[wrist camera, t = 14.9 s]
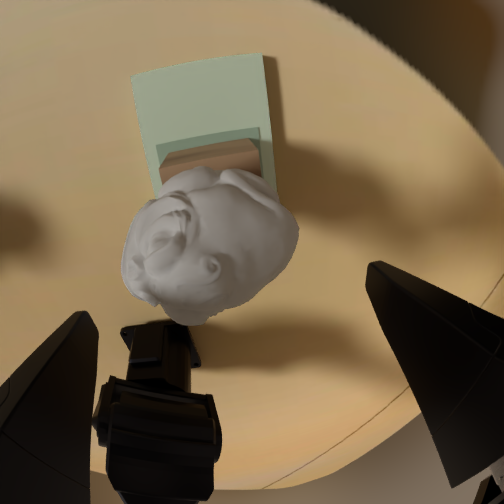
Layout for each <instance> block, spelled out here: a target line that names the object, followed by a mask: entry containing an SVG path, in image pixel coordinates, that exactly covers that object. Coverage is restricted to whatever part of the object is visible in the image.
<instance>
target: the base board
mask: <svg viewBox="0 0 504 504" xmlns="http://www.w3.org/2000/svg"><path fill="white" fill-rule="evenodd" d="M130 77H131V83H132V89H133V95H134V101H135V106H136V112H137V117H138V122H139V127H140V132H141V137H142V142H143V146H144V151H145V156H146V160H147V165H148V169H149V173H150V177H151V182H152V186H153V190H154V194H155V198H156V199H159V198H158V193H159V190H160V188H161V187H162V182H161V178H160V173H159V167H160V165H161V164H162V162H163V161H164V159H165V158H166V156H167V154H168V153H170V152H175V151H179V150H184V149H189V148H194V147H199V146H204V145H209V144H214V143H220V142H226V141H231V140H238V139H244V138H249V140H250V141H251V142H252V143H253V144H254V145H255V147H256V148H257V149H258V152H259V160H260V167H261V175H262V178H263V179H264V180H266V181H267V182H268V184H269V185H270V186H271V187H272V188H273V189H274V190H275V192H276V193H277V185H276V174H275V164H274V154H273V144H272V134H271V125H270V116H269V107H268V98H267V90H266V81H265V73H264V65H263V57H262V53H252V54H242V55H233V56H225V57H217V58H211V59H204V60H198V61H193V62H187V63H182V64H177V65H172V66H168V67H163V68H159V69H155V70H151V71H147V72H143V73H139V74H136V75H132V76H130Z"/></svg>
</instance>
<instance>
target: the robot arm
mask: <svg viewBox="0 0 504 504" xmlns="http://www.w3.org/2000/svg"><path fill="white" fill-rule="evenodd" d="M365 287H366V291H367V293H368V296H369V298H370V301H371V303H372V306H373V308H374V311H375V313H376V316H377V319H378V321H379V324H380V326H381V328H382V330H383V333H384V335H385V337H386V338H387V340H388V342H389V344H390V346H391V348H392V350H393V352H394V354H395V356H396V358H397V360H398V362H399V364H400V366H401V369H402V371H403V373H404V375H405V377H406V379H407V381H408V383H409V385H410V388H411V390H412V392H413V394H414V396H415V398H416V401H417V403H418V405H419V407H420V410H421V412H422V414H423V416H424V419H425V421H426V424H427V426H428V428H429V431H430V433H431V435H433V436H432V438H433V441H434V443H435V446H436V448H437V451H438V453H439V456H440V459H441V461H442V464H443V466H444V469H445V472H446V475H447V477H448V480H449V483H450V486H451V488H454V487H456V486H458V485H460V484H461V483H463V482H465V481H466V480H468V479H470V478H471V477H473V476H475V475H476V474H478V473H479V472H481V471H482V470H484V469H485V468H487V467H489V468H490V471H491V473H492V474H491V475H490V476H488V477H487V478H485V479H484V480H483V481H481V483H480V486H479V489H478V492H477V495H476V497H475V500H474V502H473V504H504V319H503V318H501V317H498V316H496V315H494V314H492V313H490V312H488V311H485V310H483V309H481V308H479V307H477V306H475V305H473V304H472V303H468V302H467V301H465V300H463V299H461V298H459V297H457V296H455V295H453V294H451V293H449V292H447V291H445V290H443V289H441V288H439V287H437V286H435V285H433V284H431V283H428V282H426V281H424V280H422V279H420V278H418V277H416V276H414V275H411V274H409V273H407V272H405V271H403V270H401V269H399V268H396V267H394V266H392V265H390V264H388V263H385V262H383V261H375V262H370V263H369V264H368V267H367V275H366V282H365ZM180 325H182V324H179V323H176V322H175V321H171V322H164V323H156V324H149V325H141V326H133V327H124V328H122V329H121V332H120V335H121V337H122V338H123V340H124V342H125V344H126V345H127V347H128V349H129V351H130V355H129V364H128V370H127V375H126V380H123V379H119V378H116V377H115V376H111V375H110V377H109V381H108V383H107V382H106V384H104V385H102V387H101V392H100V397H99V401H98V404H97V406H96V409H95V412H94V414H93V404H94V394H95V386H96V377H97V357H98V340H99V333H98V329H97V327H96V325H95V324H94V322H93V320H92V318H91V316H90V315H89V313H88V312H87V311H77V312H75V313H73V314H72V315H71V316H70V317H69V318H68V319H67V320H66V321H65V322H64V323H63V324H62V325H61V326H60V327H59V328H57V329H56V330H55V331H54V332H53V333H52V334H51V335H50V336H49V337H48V338H47V339H46V340H45V341H44V342H43V343H42V344H41V345H40V346H39V347H38V348H37V349H36V350H35V351H34V352H33V353H32V354H31V355H30V356H29V357H28V358H27V359H26V360H25V361H24V362H23V363H22V364H21V365H20V366H19V367H18V368H17V369H16V370H15V371H14V373H13V374H12V375H11V376H10V377H9V378H8V379H7V380H6V381H5V382H4V383H3V384H2V385H1V386H0V504H90V489H89V488H90V445H91V427H92V426H93V427H94V429H95V430H96V431H97V437H98V444H99V446H102V447H106V448H107V453H106V473H107V475H108V478H109V480H110V482H111V484H112V486H113V488H114V490H115V491H117V492H118V494H119V495H120V497H121V499H122V501H123V502H124V504H198V502H199V501H207V500H208V499H209V497H210V495H211V494H212V492H213V490H214V463H216V462H217V461H218V459H219V457H220V453H221V448H222V431H221V426H220V422H219V418H218V415H217V411H216V407H215V403H214V399H213V395H211V394H206V395H203V394H196V393H191V368H198V367H200V366H201V360H200V357H199V355H198V352H197V350H196V347H195V344H194V342H193V339H192V336H191V334H190V331H189V328H188V326H186V325H182V326H180ZM124 332H125V333H124ZM92 414H93V417H92Z"/></svg>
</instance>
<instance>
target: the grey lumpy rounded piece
mask: <svg viewBox="0 0 504 504" xmlns="http://www.w3.org/2000/svg"><path fill="white" fill-rule="evenodd" d="M158 198H159V199H152V200H149V201H148V202H147V203H146V204H145V205H144V206H143V207H142V208H141V209H140V210H139V211H138V213H137V214H136V215H135V217H134V219H133V221H132V223H131V225H130V228H129V231H128V234H127V238H126V242H125V245H124V249H123V255H122V261H121V274H122V278H123V281H124V283H125V285H126V287H127V289H128V290H129V291H130V293H131V294H132V295H133V296H134V297H136V298H138V299H140V300H143V301H146V302H148V303H149V304H151V305H152V306H154V307H155V306H157V305H158V304H161V306H162V307H163V309H164V311H165V313H166V314H167V315H168V316H169V317H170V318H171V319H172V320H173V321H175V322H176V323H179V324H182V325H186V326H198V325H203V324H204V323H205V322H206V320H207V319H208V318H209V316H210V317H211V316H213V315H217V313H218V312H222V311H223V310H224V309H229V308H234V307H237V306H240V305H242V304H244V303H245V302H247V301H249V300H250V299H252V298H253V297H254V296H255V295H256V294H257V293H258V292H259V291H260V290H261V289H262V288H263V287H265V285H267V284H268V283H270V282H271V281H272V280H274V279H275V278H276V277H277V276H278V275H279V274H280V273H281V272H282V271H283V270H284V269H285V267H286V266H287V264H288V263H289V261H290V259H291V258H292V255H293V253H294V251H295V248H296V245H297V241H298V237H299V226H298V224H297V222H296V220H295V218H294V217H293V215H292V214H291V213H290V212H289V211H288V210H287V209H286V208H285V207H284V206H283V205H282V204H280V200H279V196H278V194H277V193H276V192H275V190H274V189H273V188H272V187H271V186H270V185H269V184H268V182H267V181H266V180H264V179H263V178H261V177H259V176H257V175H255V174H253V173H251V172H248V171H244V170H241V169H226V170H213V169H212V168H210V167H206V166H198V167H195V168H193V169H189V170H185V171H182V172H180V173H179V174H177V175H175V176H173V177H171V178H170V179H169V180H168V181H166V182H165V183H164V184H163V186H162V187H161V188H160V190H159V193H158Z"/></svg>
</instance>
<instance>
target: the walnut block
mask: <svg viewBox="0 0 504 504" xmlns="http://www.w3.org/2000/svg"><path fill="white" fill-rule="evenodd" d="M198 166H206V167H210V168H212V169H213V170H226V169H241V170H244V171H248V172H251V173H253V174H255V175H257V176H259V177H261V178H262V175H261V167H260V160H259V152H258V149H257V148H256V147H255V145H254V144H253V143H252V142H251V141H250V140H249V138H244V139H238V140H231V141H226V142H220V143H214V144H209V145H204V146H199V147H194V148H189V149H184V150H179V151H175V152H170V153H168V154H167V156H166V158H165V159H164V161H163V162H162V164H161V165H160V167H159V173H160V178H161V182H162V186H163V184H164V183H165V182H166V181H168V180H169V179H170V178H171V177H173V176H175V175H177V174H179V173H180V172H182V171H185V170H189V169H193V168H195V167H198Z"/></svg>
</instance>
